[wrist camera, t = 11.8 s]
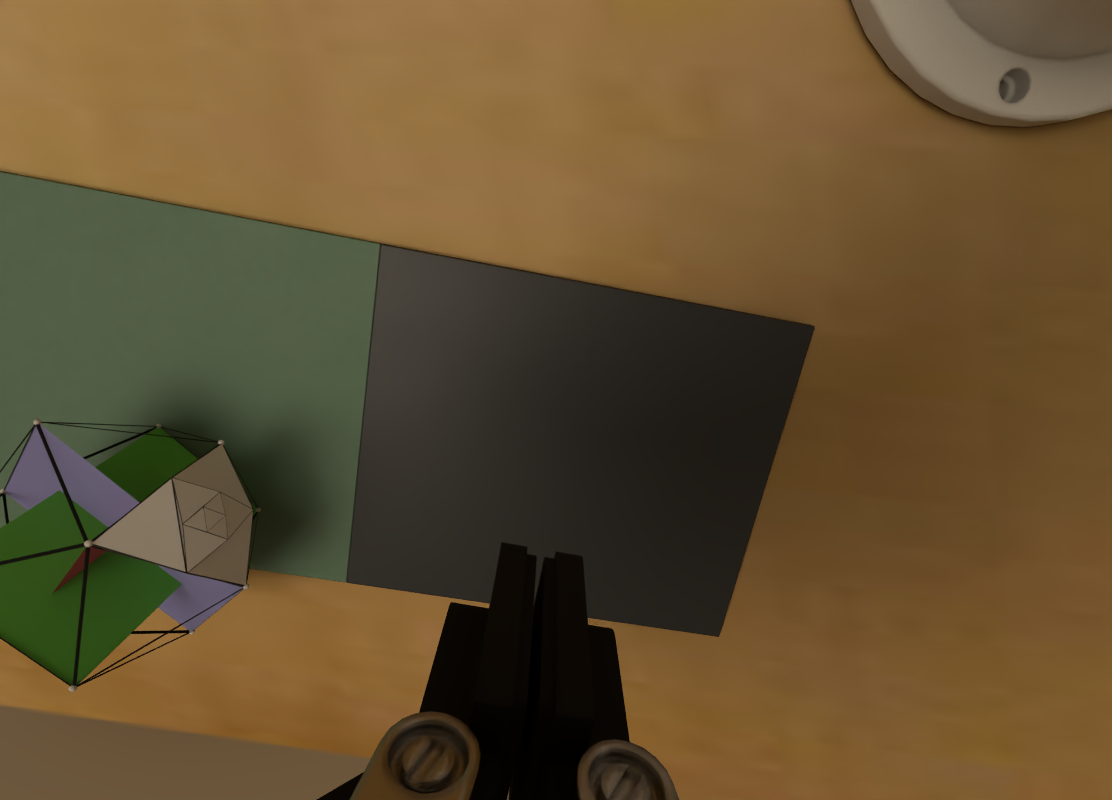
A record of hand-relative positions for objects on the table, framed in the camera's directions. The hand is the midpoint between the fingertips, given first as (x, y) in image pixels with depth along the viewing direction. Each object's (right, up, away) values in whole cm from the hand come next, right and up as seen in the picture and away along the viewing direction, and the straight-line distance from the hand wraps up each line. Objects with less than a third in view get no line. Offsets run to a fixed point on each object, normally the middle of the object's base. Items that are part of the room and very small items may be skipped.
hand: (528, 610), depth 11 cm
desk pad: (-5, +3, +8) cm, 10 cm away
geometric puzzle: (-12, +1, +8) cm, 14 cm away
